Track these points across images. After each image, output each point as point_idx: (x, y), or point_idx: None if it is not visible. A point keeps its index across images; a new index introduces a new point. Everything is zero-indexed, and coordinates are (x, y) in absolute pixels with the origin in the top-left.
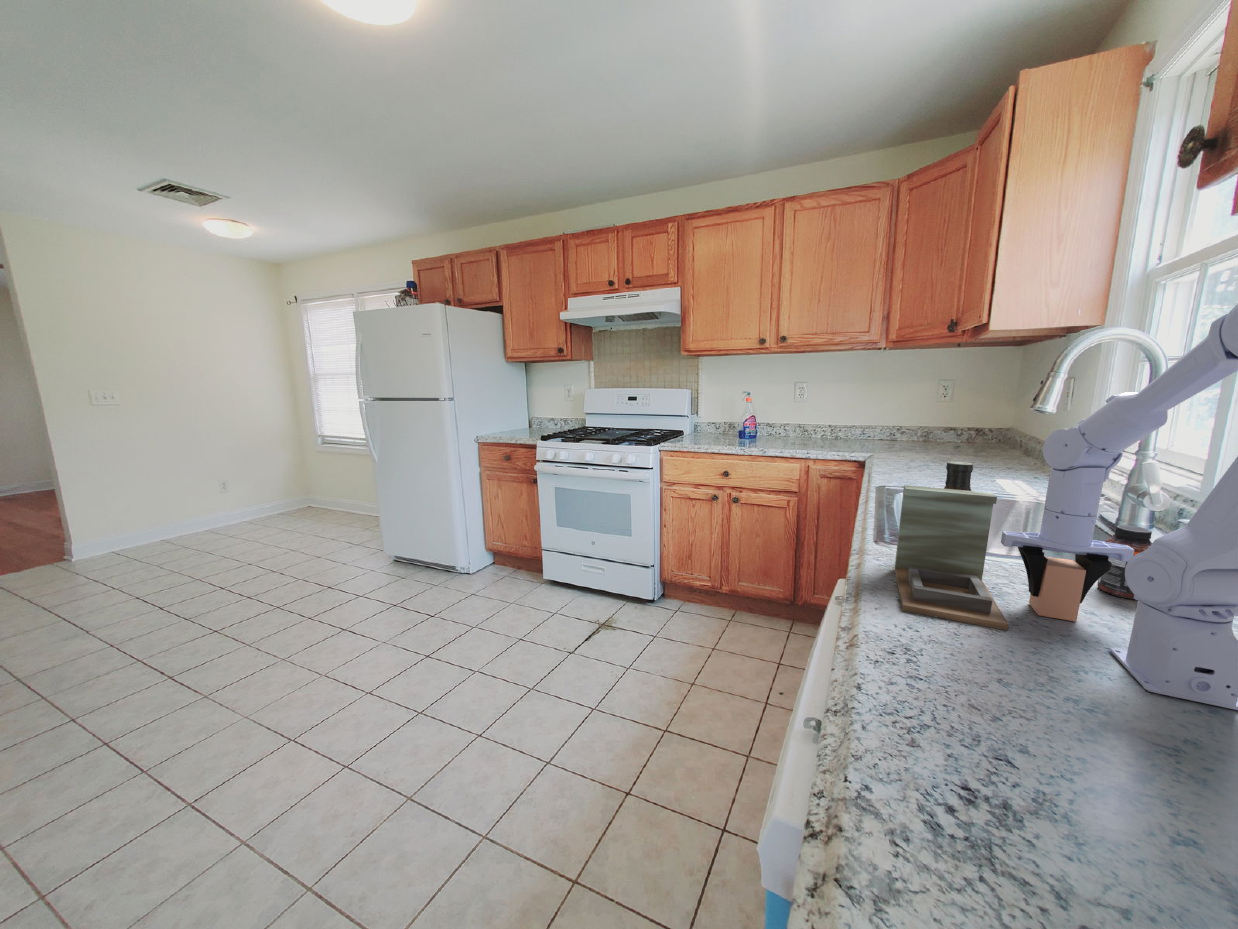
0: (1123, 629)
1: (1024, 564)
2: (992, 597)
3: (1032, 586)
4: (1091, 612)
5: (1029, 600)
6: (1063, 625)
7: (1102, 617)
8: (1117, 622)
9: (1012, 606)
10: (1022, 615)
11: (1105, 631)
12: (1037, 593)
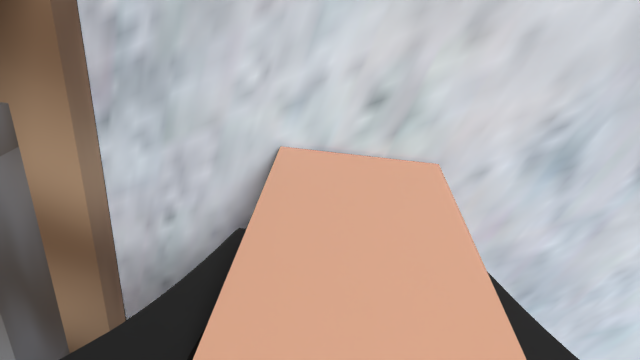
0: (580, 289)
1: (111, 331)
2: (89, 215)
3: None
4: (570, 148)
5: (277, 154)
6: None
7: (582, 194)
8: (615, 229)
9: (194, 201)
10: None
11: None
12: None
